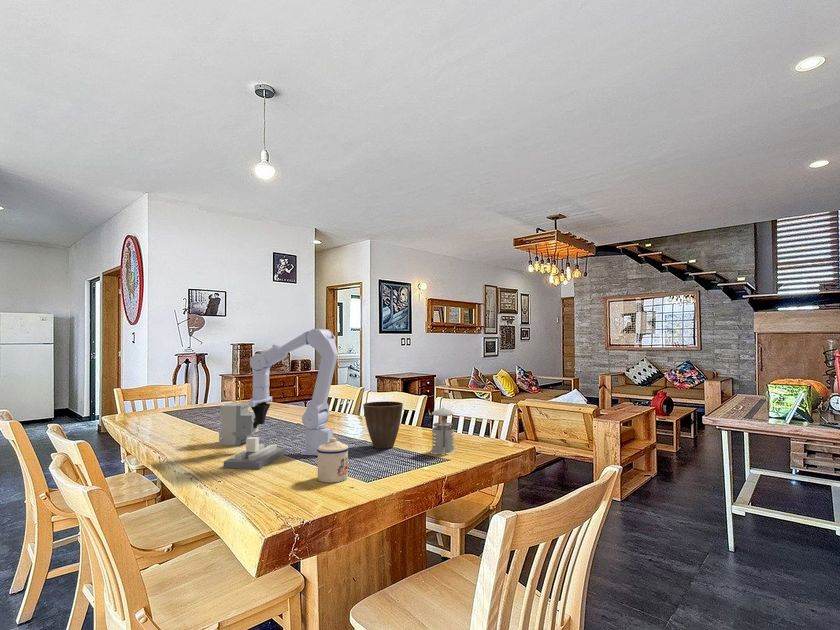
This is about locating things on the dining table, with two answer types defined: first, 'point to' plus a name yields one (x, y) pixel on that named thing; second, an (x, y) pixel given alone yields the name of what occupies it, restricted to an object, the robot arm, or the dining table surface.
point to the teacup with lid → (332, 461)
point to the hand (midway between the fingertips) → (260, 423)
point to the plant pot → (383, 422)
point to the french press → (443, 433)
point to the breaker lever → (252, 445)
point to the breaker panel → (257, 462)
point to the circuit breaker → (236, 423)
